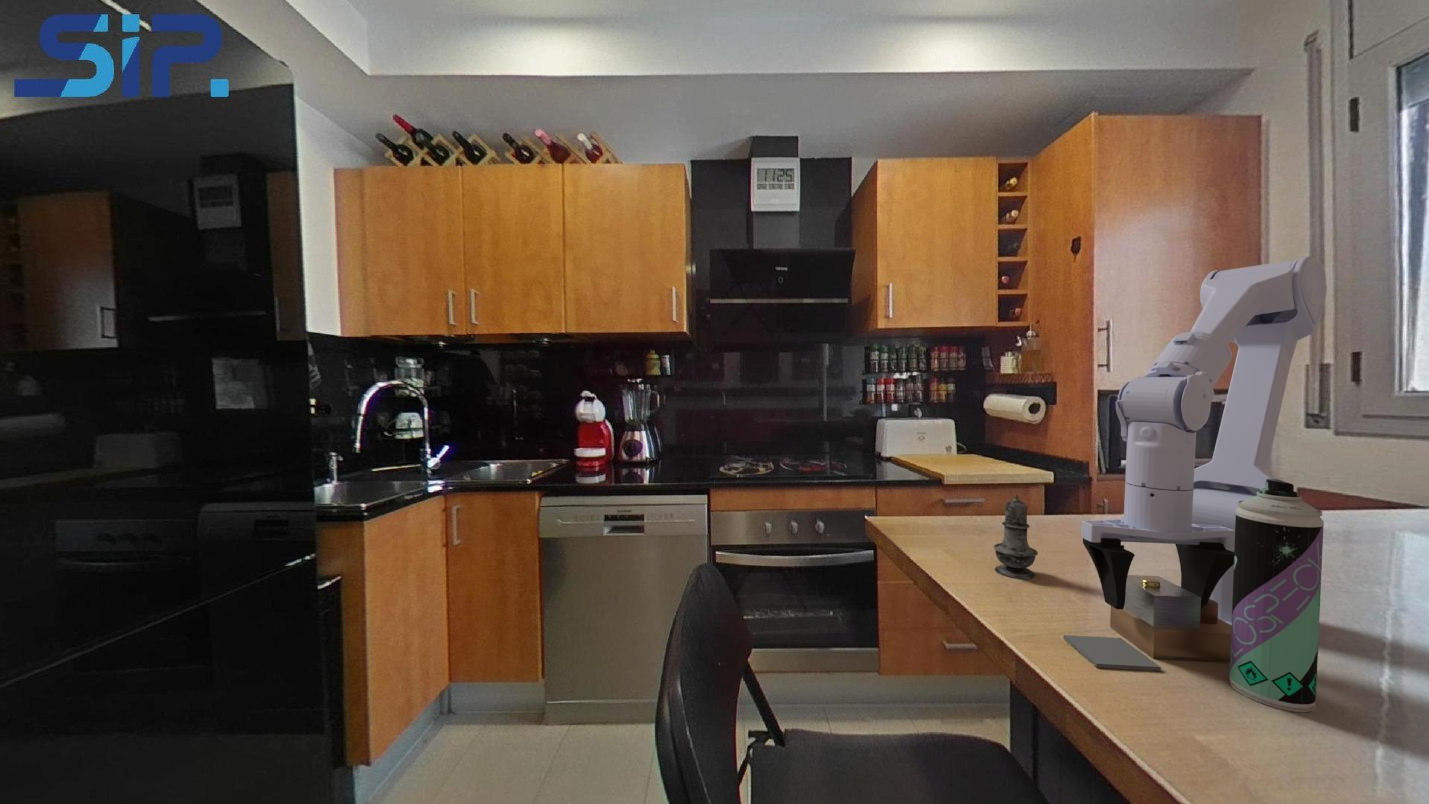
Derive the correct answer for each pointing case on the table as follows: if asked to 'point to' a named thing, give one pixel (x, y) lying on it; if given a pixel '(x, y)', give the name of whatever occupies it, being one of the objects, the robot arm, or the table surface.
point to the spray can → (1276, 598)
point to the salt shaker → (1015, 543)
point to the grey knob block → (1162, 603)
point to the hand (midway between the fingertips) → (1152, 607)
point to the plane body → (1178, 636)
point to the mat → (1111, 653)
